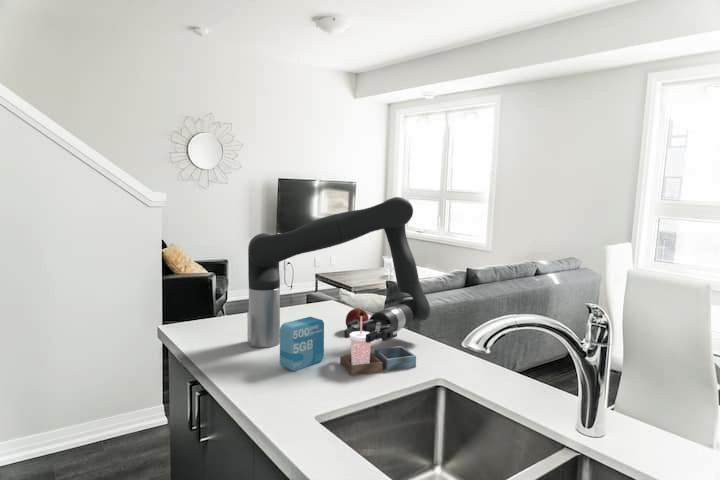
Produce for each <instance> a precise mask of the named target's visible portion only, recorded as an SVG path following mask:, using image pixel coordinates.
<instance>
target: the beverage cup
mask: <svg viewBox="0 0 720 480" xmlns="http://www.w3.org/2000/svg"><path fill="white" fill-rule="evenodd" d="M368 333H370V332H366V331H362V316H360V331H355V332H352V333H350V334H349V336H350V337H349V339H350V354H351V359H352V365H358V364H366V363H369V362H370V353H371V350H372V349H371V348H372V347H371V345H372V342H370V343H366V334H368Z"/></svg>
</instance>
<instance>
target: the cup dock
mask: <svg viewBox="0 0 720 480" xmlns="http://www.w3.org/2000/svg"><path fill="white" fill-rule="evenodd" d="M339 356H340V357H339V358H340V359H339V361H340V362H339V364H340V366H341V367H342V368H343V369H344V370H345V371H346V372H347V373H348V374H349V375H350V376H351V377H352V376H360V375H366V374H367V375H368V374H373V373H381V372H383V369H384V370H385V371H387V372H389V371H395V370H402V369H410V368H416V367H417V355H415V354H414V353H412V352H411V351H410V350H408V349H407V348H405V347H403V346H391V347H384V348H383V347H382V348H375V349H373V353H372V352H370V362H369V363H366V364H358V365H352V359H351V353H348V354H341V355H339Z"/></svg>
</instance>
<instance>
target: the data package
mask: <svg viewBox="0 0 720 480" xmlns="http://www.w3.org/2000/svg"><path fill="white" fill-rule="evenodd" d="M324 353H325V322H324V320H322V319H319V318H316V317H312V316H308V317H304V318H299V319H296V320H291V321H288V322H287V321H286V322H284V323H282V324H280V343H279V365H280V366H281V367H282V368H284V369H286V370H289V371H292V372H296V371H298V370H301V369H305V368H307V367H310V366H313V365H316V364H319V363H321V362H322V361H323V359H324V356H325V354H324Z"/></svg>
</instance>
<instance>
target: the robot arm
mask: <svg viewBox="0 0 720 480" xmlns="http://www.w3.org/2000/svg"><path fill="white" fill-rule="evenodd" d="M413 214H414V208H413V204H412V203H411V202H410V201H409V200H408V199H406V198H403V197H400V196H395V197H392V198H389V199H386V200H385V201H383V202H381V203H379V204H376V205H373V206H369V207H366V208H363V209H362V208H361V209H357V210H356V209H355V210H349V211H344V212H340V213H333V214H332V215H331V214H330V215H327V216H324V217H320V218H318V219H315V220H312V221H310V222H309V223H308V222H307V223H306V224H304V225H302V226H299V227H298V228H296V229H293V230H289V231H286V232H281V233H277V234H269V233H258V234H256V235H255V236H254V237H252V238H251V239H250V241H249V243H248V247H247V248H248V250H247V252H248V254H247V255H248V257H247V258H248V259H247V262H248V264H247V265H248V266H247V267H248V268H247V269H248V275H247V277H248V310H247V342H249V343H248V345H249V346H250V347H251V346H256V347H255V348H270V347H275V346H277V345H280V327H281V323H280V322H281V313H280V312H281V309H280V307H281V298H280V297H281V295H280V294H281V275H280V263H281V262H283V261H284V260H287V259H290V258H293V257H295V256H298V255H302V254H305V253H306V254H307V253H311V252H315V251H319V250H323V249H327V248H332V247H335V246H338V245H341V244H345V243H348V242H350V241H352V240H355V239H357V238H358V239H359V238H360V237H363V236H365V235H367V234H370V233H372V232H375V231H376V232H377V231H380V230H384V232H385V236H386V240H387V243H388V246H389V250H390V253H391V258H392V263H393V269H394V274H395V279H396V285H397V289H398V292H401V293H403V294H407V295H409V296H410V297H411V298H409V299H407V298H406V299H401V300H399V301H398V302H397V303H396V304H395V305H393V306H391V307H386V308H384V309H381V310H379V311H377V312H374V313H372V315H371V316H370V318H369V320H367V321H364V322H362V327H363V331H366V332H370V333H368V334H366V343H370V342H371V343H373V342H374V341H379V340H381V341H383V342H385V341H388V340H391V339H394V338H397V337H398V332H400V330H401V329H404V328H405V327H407V326H409V325H410V324H411V323H412V322H420V321H421V322H423V321H426V320H428V319H429V317H430V315H431V306H430V303H429V300H428V299H427V296H426V294H425V293H424V290H423V288H422V286H421V282H420V278H419V273H418V268H417V264H416V260H415V258H414V255H413V252H412V251H411V248H410V246H409V241H408V238H407V234H406V233H407V231H406V224H408V223H409V222H410V220H411V219H412V217H413ZM356 329H358V331H360V322H359V319H355V320H353V321H351V322H349V323H348V324H347V326H346V329H343V330H344V331H343V336H344V338H346V339H350V336H349V334H350V333H352V332H355V330H356Z"/></svg>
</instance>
